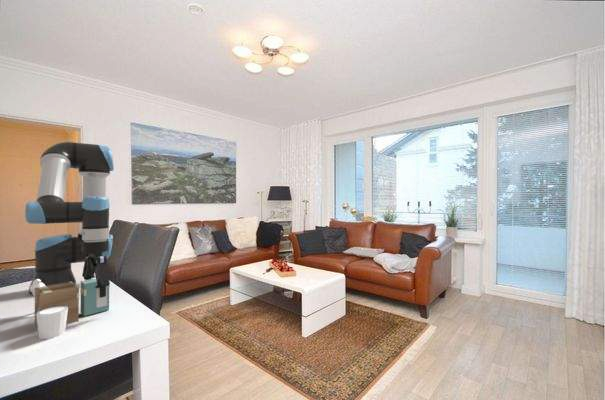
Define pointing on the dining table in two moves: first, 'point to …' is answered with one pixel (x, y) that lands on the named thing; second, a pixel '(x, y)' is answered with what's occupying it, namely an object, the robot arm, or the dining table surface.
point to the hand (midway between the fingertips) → (95, 301)
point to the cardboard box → (58, 299)
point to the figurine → (36, 286)
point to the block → (91, 298)
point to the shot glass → (52, 322)
